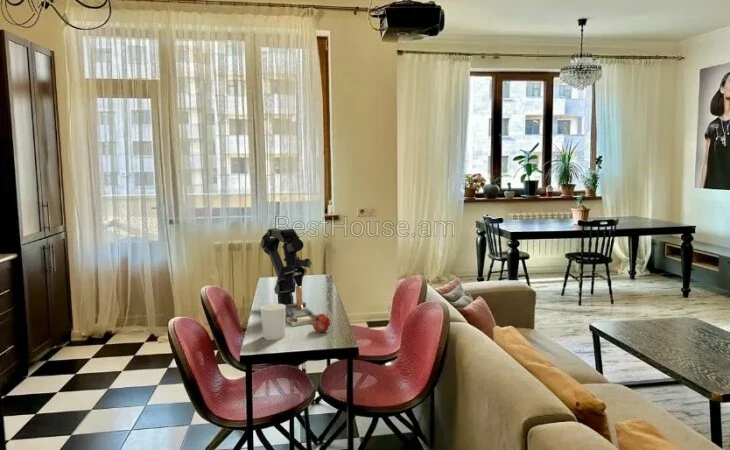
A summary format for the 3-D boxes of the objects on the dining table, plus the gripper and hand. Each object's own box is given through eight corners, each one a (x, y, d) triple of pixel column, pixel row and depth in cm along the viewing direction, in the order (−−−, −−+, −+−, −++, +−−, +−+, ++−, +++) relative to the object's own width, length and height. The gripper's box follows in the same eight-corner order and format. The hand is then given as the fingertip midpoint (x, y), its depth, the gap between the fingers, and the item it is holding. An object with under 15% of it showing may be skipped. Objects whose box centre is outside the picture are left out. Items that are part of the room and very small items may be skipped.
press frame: (281, 315, 229) (280, 305, 228) (307, 311, 233) (306, 301, 233) (292, 326, 212) (291, 315, 211) (319, 321, 216) (319, 311, 216)
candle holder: (265, 342, 192) (264, 311, 191) (258, 335, 201) (256, 305, 199) (290, 338, 197) (289, 307, 195) (282, 331, 205) (281, 302, 204)
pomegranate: (318, 333, 208) (303, 323, 201) (327, 317, 210) (312, 307, 204) (330, 339, 203) (315, 329, 196) (339, 322, 205) (325, 312, 198)
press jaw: (291, 314, 223) (289, 286, 221) (306, 312, 225) (304, 284, 224) (293, 317, 219) (292, 288, 218) (308, 314, 222) (307, 286, 220)
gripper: (299, 249, 223) (306, 284, 220) (313, 253, 241) (320, 285, 238) (276, 255, 225) (282, 290, 223) (292, 258, 243) (298, 290, 241)
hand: (296, 289), depth 231 cm, fingers open, 9 cm apart
